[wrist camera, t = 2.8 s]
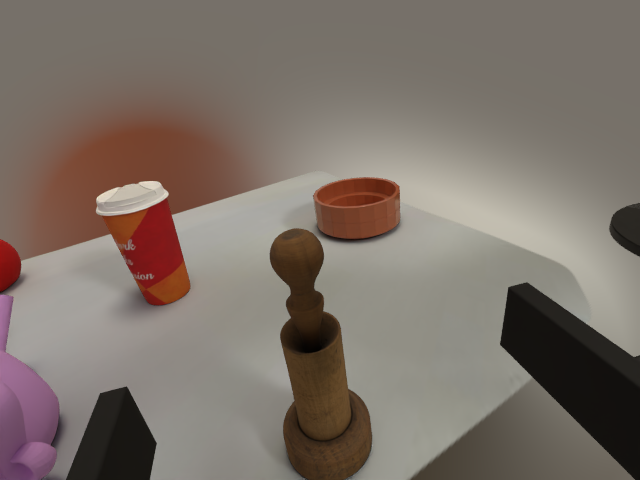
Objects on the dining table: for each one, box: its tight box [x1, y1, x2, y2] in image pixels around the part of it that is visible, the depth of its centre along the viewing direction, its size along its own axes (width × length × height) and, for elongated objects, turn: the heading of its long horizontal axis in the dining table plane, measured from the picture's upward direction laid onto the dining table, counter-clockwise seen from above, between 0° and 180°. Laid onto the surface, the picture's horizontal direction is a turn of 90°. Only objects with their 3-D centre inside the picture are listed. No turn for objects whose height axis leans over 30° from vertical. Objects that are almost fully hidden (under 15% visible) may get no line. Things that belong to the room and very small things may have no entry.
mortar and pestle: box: [270, 229, 372, 480], centre depth 23 cm, size 7×6×18 cm
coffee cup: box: [96, 181, 190, 305], centre depth 46 cm, size 8×8×15 cm
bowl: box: [313, 177, 400, 239], centre depth 60 cm, size 14×14×6 cm
